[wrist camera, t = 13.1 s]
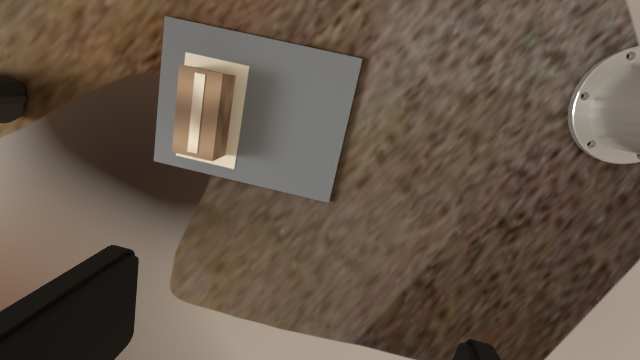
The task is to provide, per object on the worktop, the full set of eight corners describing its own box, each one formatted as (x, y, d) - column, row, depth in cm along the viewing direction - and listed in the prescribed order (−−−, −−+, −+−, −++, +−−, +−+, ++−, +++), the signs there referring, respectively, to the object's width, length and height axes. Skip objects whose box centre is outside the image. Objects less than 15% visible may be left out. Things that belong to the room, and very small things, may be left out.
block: (225, 155, 42) (212, 161, 38) (188, 146, 42) (171, 152, 38) (235, 75, 39) (222, 73, 35) (196, 67, 39) (178, 64, 36)
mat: (362, 59, 38) (362, 58, 37) (329, 201, 43) (328, 203, 42) (167, 17, 39) (164, 15, 38) (156, 160, 44) (153, 161, 43)
